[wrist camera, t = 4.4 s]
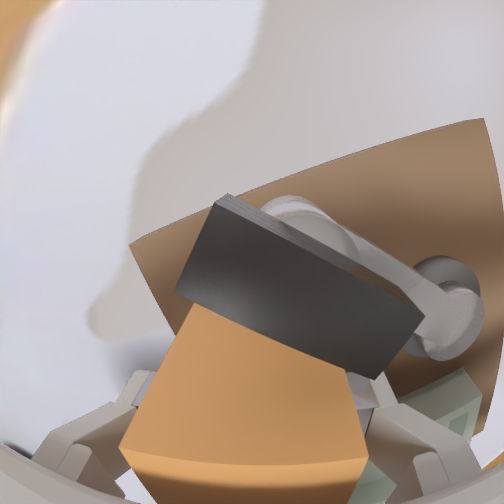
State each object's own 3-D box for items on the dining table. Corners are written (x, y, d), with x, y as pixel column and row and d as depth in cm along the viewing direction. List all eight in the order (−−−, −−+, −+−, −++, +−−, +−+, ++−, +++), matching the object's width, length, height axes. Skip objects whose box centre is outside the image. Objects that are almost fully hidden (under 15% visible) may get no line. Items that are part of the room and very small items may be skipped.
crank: (480, 297, 10) (559, 368, 4) (442, 353, 10) (500, 439, 5) (259, 157, 9) (242, 145, 3) (217, 240, 10) (156, 331, 4)
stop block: (316, 284, 10) (369, 456, 3) (312, 373, 11) (332, 530, 4) (202, 288, 10) (118, 447, 4) (215, 375, 11) (175, 524, 5)
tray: (450, 447, 14) (460, 470, 12) (333, 491, 16) (336, 516, 14) (462, 367, 12) (482, 394, 10) (300, 430, 14) (302, 466, 11)
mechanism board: (475, 418, 15) (487, 438, 13) (293, 486, 18) (294, 510, 16) (465, 120, 10) (497, 116, 8) (143, 236, 13) (117, 252, 10)
